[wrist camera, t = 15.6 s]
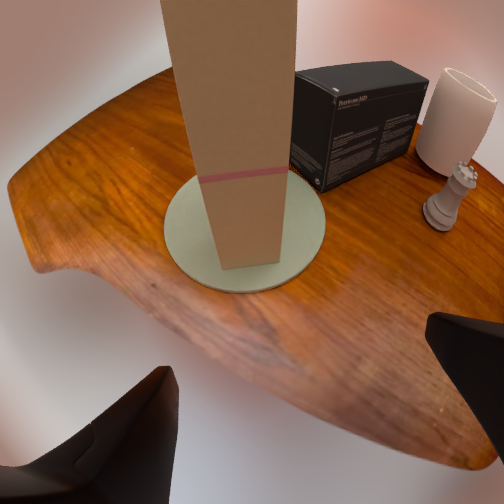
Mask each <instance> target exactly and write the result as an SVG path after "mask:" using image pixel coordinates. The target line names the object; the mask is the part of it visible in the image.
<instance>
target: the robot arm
mask: <svg viewBox="0 0 504 504" xmlns="http://www.w3.org/2000/svg"><path fill="white" fill-rule="evenodd" d="M425 338H426V341H427V342H428V344H429V346H430V347H431V349H432V351H433V352H434V354H435V356H436V358H437V359H438V361H439V363H440V364H441V366H442V368H443V369H444V371H445V372H446V374H447V375H448V377H449V378H450V379H451V381H452V382H453V384H454V385H455V386H456V388H457V389H458V391H459V392H460V394H461V395H462V397H463V398H464V400H465V401H466V403H467V404H468V406H469V407H470V409H471V410H472V412H473V413H474V415H475V416H476V418H477V420H478V421H479V423H480V424H481V426H482V428H483V429H484V431H485V432H486V434H487V436H488V437H489V439H490V441H491V442H492V444H493V446H494V448H495V450H496V452H497V453H498V455H499V457H500V458H501V461H502V462H503V464H504V324H500V323H495V322H489V321H484V320H479V319H473V318H468V317H463V316H458V315H453V314H447V313H442V312H435V313H432V314H430V315H429V316H428V319H427V325H426V331H425ZM178 407H179V388H178V384H177V381H176V378H175V375H174V372H173V370H172V368H171V367H170V366H159V367H157V368H156V369H154V370H153V371H152V372H151V373H150V374H149V375H147V376H146V377H145V378H144V379H143V380H141V381H140V382H139V383H138V384H137V385H136V386H134V387H133V388H132V389H131V390H129V391H128V392H127V393H126V394H125V395H123V397H121V398H120V399H119V400H118V401H116V402H115V403H114V404H113V405H111V406H110V407H109V408H108V409H106V410H105V411H104V412H103V413H102V414H100V415H99V416H98V417H97V418H95V419H94V420H93V421H92V422H91V424H88V425H87V426H85V427H84V428H83V429H82V430H80V431H79V432H78V433H76V434H75V435H74V436H72V437H71V438H70V439H68V440H67V441H65V442H64V443H62V444H61V445H59V446H57V447H56V448H54V449H53V450H51V451H49V452H48V453H46V454H45V455H43V456H41V457H40V458H38V459H36V460H35V461H33V462H31V463H29V464H27V465H24V466H19V467H9V466H0V504H169V496H170V487H171V478H172V471H173V463H174V455H175V447H176V441H177V433H178Z"/></svg>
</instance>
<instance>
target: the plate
mask: <svg viewBox="0 0 504 504" xmlns="http://www.w3.org/2000/svg"><path fill="white" fill-rule="evenodd" d="M325 227H326V224H325V214H324V209H323V206H322V203H321V201H320V199H319V197H318V195H317V194H316V192H315V191H314V190H313V188H312V187H311V186H310V185H309V184H308V183H307V182H306V181H305V180H304V179H303V178H301V177H300V176H299V175H297V174H295V173H294V172H292V171H290V170H289V171H288V179H287V191H286V202H285V213H284V223H283V234H282V244H281V253H280V262H278V263H271V264H264V265H256V266H249V267H242V268H235V269H228V270H222V267H221V264H220V260H219V257H218V253H217V249H216V246H215V242H214V238H213V235H212V231H211V227H210V223H209V220H208V216H207V212H206V208H205V204H204V200H203V197H202V193H201V189H200V185H199V182H198V178H197V175H196V176H194V177H193V178H192V179H190V180H189V181H188V182H187V183H186V184H184V185H183V186H182V187H181V189H180V190H179V191H178V192H177V193H176V195H175V196H174V198H173V199H172V201H171V203H170V205H169V207H168V210H167V212H166V216H165V221H164V237H165V242H166V245H167V248H168V251H169V253H170V255H171V257H172V258H173V260H174V261H175V263H176V264H177V266H178V267H179V268H180V269H181V270H182V271H183V272H184V273H185V274H186V275H187V276H189V277H190V278H191V279H193V280H194V281H196V282H198V283H200V284H201V285H204V286H206V287H209V288H211V289H214V290H218V291H222V292H228V293H254V292H261V291H265V290H269V289H272V288H275V287H278V286H280V285H282V284H285V283H287V282H288V281H290V280H292V279H293V278H295V277H296V276H298V275H299V274H300V273H301V272H303V271H304V270H305V269H306V268H307V267H308V266H309V265H310V263H311V262H312V261H313V259H314V258H315V257H316V255H317V253H318V251H319V249H320V247H321V244H322V241H323V238H324V234H325Z"/></svg>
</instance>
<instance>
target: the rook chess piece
mask: <svg viewBox="0 0 504 504" xmlns="http://www.w3.org/2000/svg"><path fill="white" fill-rule="evenodd" d="M466 166H467V163H466V162H464V161H463V163H462V162H461V161H460V162H458V164H457V165H454V166H452V169H451V170H452V176H450V177H448V180H447V181H448V182H447V184H446V186H445V187H444V188H443V189H442V190H441V191H440V192H439V193H436V194H435V195H432V196H431V197H429V198H428V200H427V202H425V203H424V206H423V211H424V216H425V218H426V220H427V222H428V223H429V224H430V225H431V226H432V227H434V228H435V229H437V230H440V231H447V230H450V229H451V228H452V226H453V224H454V223H455V222H456V219H457V212H458V207H459V205H460V203H461V201H462V199H463V198H464V196H467V195H468V190H469V189H474V188H475V187H476V179H477V173H476V172H474V173H472V171H473V169H474V168H473V167H472V166H470V167H469V168H467V167H466Z"/></svg>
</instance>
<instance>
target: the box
mask: <svg viewBox="0 0 504 504" xmlns="http://www.w3.org/2000/svg"><path fill="white" fill-rule="evenodd" d="M428 84H429V80H428V79H426V78H424V77H422V76H421V75H419V74H417V73H415V72H413V71H411V70H409V69H407V68H405V67H403V66H401V65H399V64H397V63H395V62H393V61H378V62H362V63H351V64H343V65H334V66H327V67H320V68H314V69H308V70H303V71H297V72H295V77H294V95H293V111H292V127H291V141H290V154H289V163H290V164H292V165H293V166H294V167H295V168H296V169H297V170H298V171H299V172H300V173H301V174H302V175H303V176H304V177H306V178H307V179H308V180H309V181H310V182H311V183H312V184H313V185H314V186H315V187H316V188H317V189H318V190H319V191H320V192H321V193H323V192H325V191H327V190H329V189H331V188H333V187H335V186H337V185H339V184H341V183H343V182H345V181H347V180H349V179H351V178H353V177H355V176H357V175H359V174H361V173H363V172H365V171H367V170H370V169H372V168H374V167H376V166H378V165H380V164H382V163H384V162H386V161H388V160H390V159H392V158H395V157H397V156H399V155H401V154H403V153H405V152H407V151H408V148H409V145H410V142H411V139H412V136H413V132H414V129H415V126H416V123H417V120H418V117H419V113H420V110H421V107H422V103H423V100H424V97H425V93H426V90H427V87H428Z"/></svg>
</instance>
